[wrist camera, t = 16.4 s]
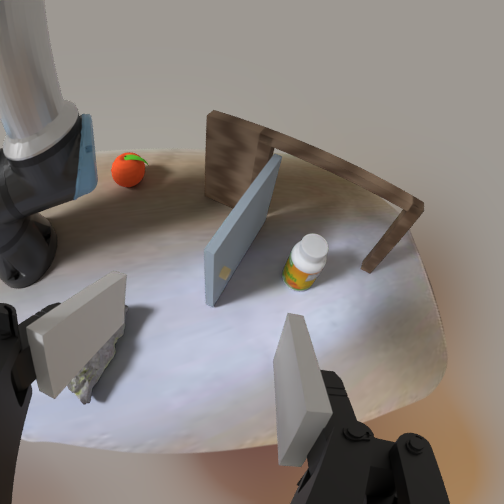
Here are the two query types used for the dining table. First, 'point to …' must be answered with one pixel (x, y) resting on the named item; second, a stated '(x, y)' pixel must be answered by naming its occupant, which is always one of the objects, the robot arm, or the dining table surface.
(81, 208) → the dining table surface
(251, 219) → the door
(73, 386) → the mineral specimen
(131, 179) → the clementine
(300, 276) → the supplement bottle
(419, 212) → the door frame
